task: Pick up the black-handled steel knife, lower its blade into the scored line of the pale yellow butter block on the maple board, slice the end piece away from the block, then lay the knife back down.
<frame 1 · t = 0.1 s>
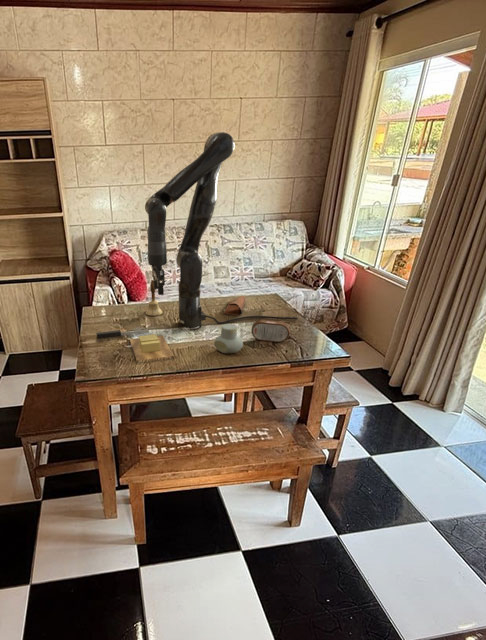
hand: (158, 291, 170), 17 cm above the table, tool pointing down, fingers open, 8 cm apart
butter: (148, 345, 161), point 1 cm above the table, touching board
air freshener: (228, 350, 158), on the table
knife: (109, 339, 171), on the table
butter slice: (150, 350, 157), point 1 cm above the table, touching board
sunglasses case: (234, 309, 198), on the table
tin: (269, 341, 165), on the table
board: (150, 349, 161), on the table
hand bell: (154, 313, 197), on the table
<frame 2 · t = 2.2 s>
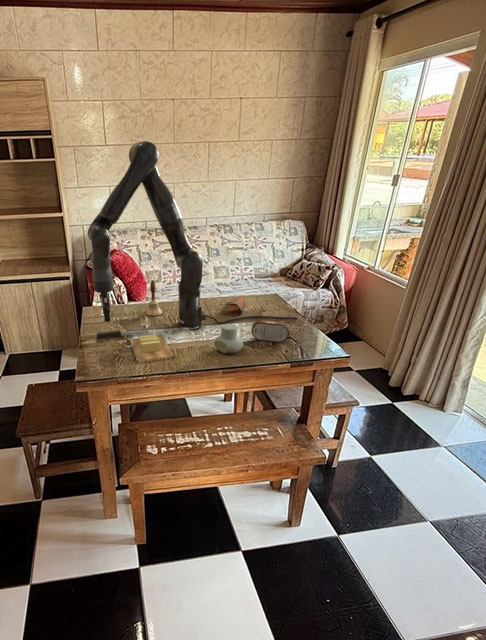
hand: (106, 317, 166), 10 cm above the table, tool pointing down, fingers open, 8 cm apart
nothing on the table moved.
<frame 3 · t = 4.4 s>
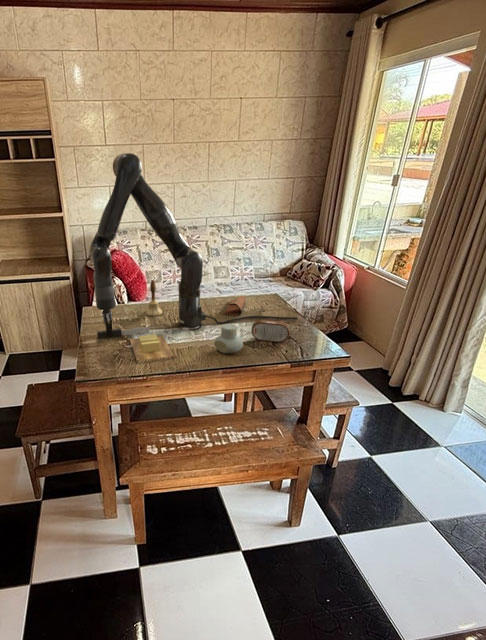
hand: (109, 335, 170), 2 cm above the table, tool pointing down, fingers closed on knife, 2 cm apart
knife: (110, 337, 171), point 1 cm above the table, touching gripper
everything else where it was.
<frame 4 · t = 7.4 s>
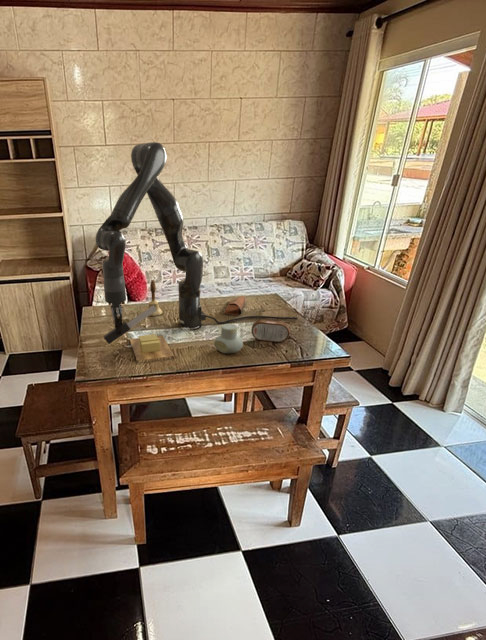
hand: (118, 333, 153), 9 cm above the table, tool pointing down, fingers closed on knife
knife: (119, 335, 153), point 8 cm above the table, tilted 30°, touching gripper
everything else where it was.
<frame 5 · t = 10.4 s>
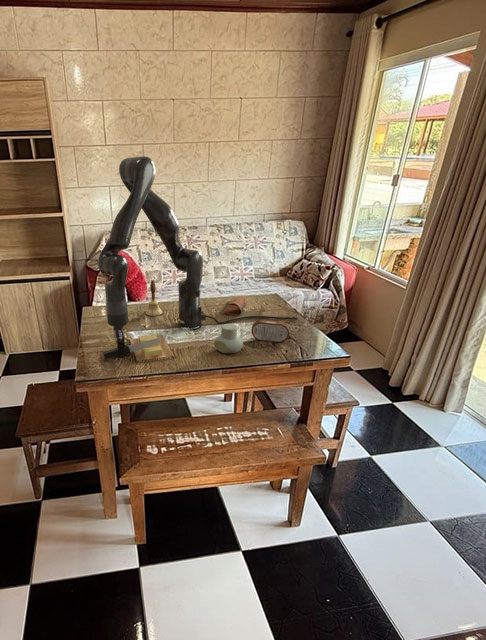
hand: (121, 353, 154), 2 cm above the table, tool pointing down, fingers closed on knife, 2 cm apart
knife: (118, 356, 154), point 1 cm above the table, tilted 12°, touching gripper
butter slice: (151, 349, 156), point 2 cm above the table, tilted 90°
everything else where it was.
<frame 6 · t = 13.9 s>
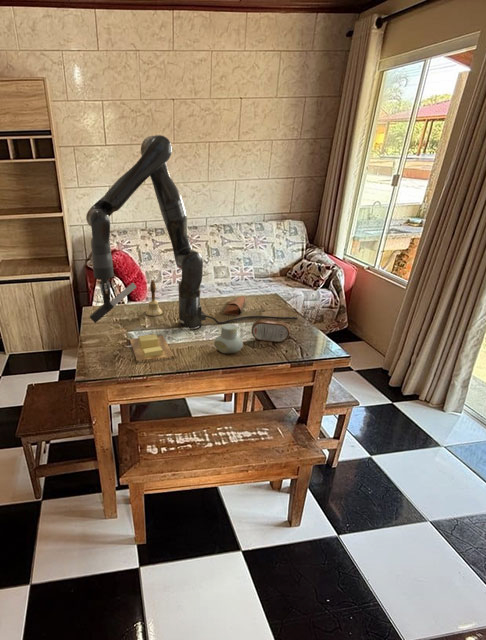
hand: (107, 308, 162), 14 cm above the table, tool pointing down, fingers closed on knife
knife: (104, 314, 163), point 12 cm above the table, tilted 36°, touching gripper
butter slice: (151, 350, 156), point 2 cm above the table, tilted 90°, touching board
everything else where it was.
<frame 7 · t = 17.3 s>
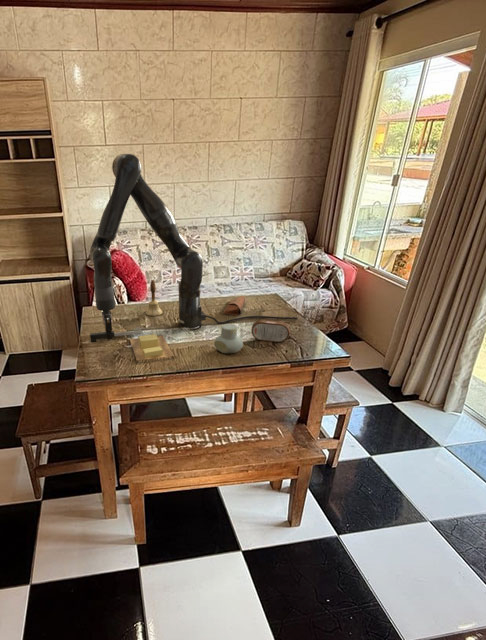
hand: (108, 335, 170), 2 cm above the table, tool pointing down, fingers open, 5 cm apart
knife: (102, 340, 171), on the table
everything else where it was.
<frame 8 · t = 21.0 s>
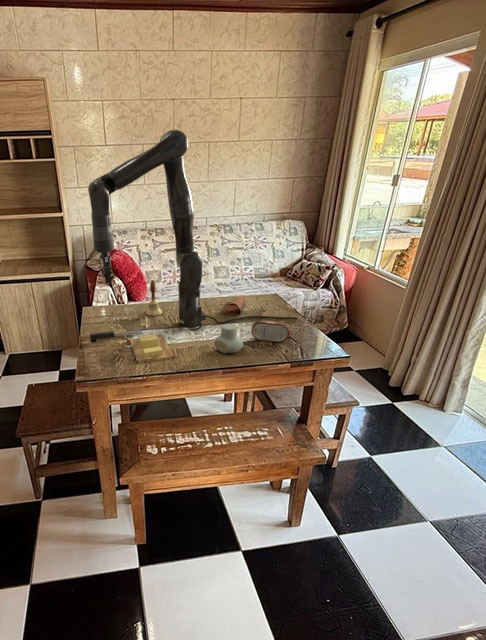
hand: (107, 279, 163), 24 cm above the table, tool pointing down, fingers open, 8 cm apart
nothing on the table moved.
at the end: butter slice 2.7 cm from the target spot on the table beside the butter, point 1.0 cm above the table; butter moved 0.0 cm from its start; the gripper is holding nothing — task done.
